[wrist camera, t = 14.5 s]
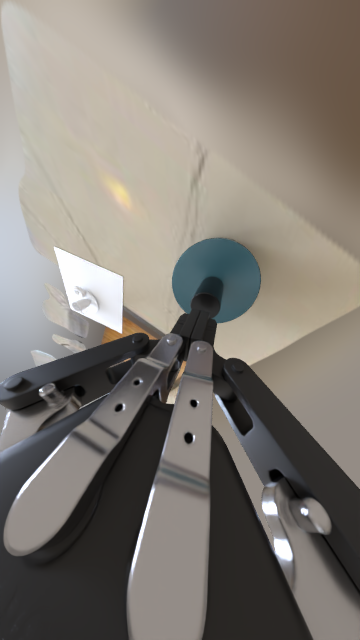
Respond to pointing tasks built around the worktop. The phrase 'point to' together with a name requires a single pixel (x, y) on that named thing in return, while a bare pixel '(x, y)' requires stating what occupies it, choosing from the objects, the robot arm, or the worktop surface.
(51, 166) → the worktop surface
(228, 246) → the lid
